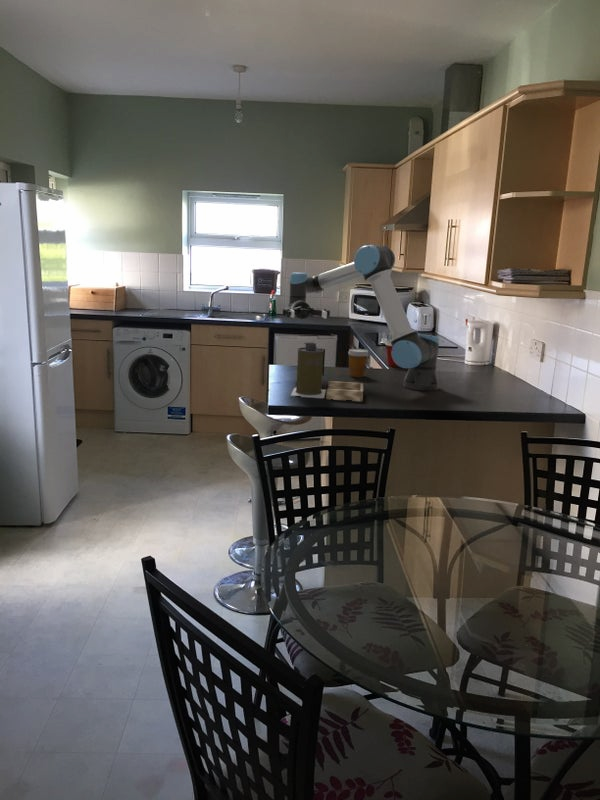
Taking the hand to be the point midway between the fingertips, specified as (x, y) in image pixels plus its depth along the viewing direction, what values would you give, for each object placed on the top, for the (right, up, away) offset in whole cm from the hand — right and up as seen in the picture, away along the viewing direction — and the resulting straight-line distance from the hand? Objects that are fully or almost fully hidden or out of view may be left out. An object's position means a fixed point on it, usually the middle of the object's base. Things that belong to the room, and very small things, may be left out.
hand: (309, 314), depth 269 cm
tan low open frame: (+13, -33, -8) cm, 37 cm away
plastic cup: (+44, -18, +66) cm, 81 cm away
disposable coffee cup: (+22, -24, +35) cm, 48 cm away
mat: (-1, -32, -7) cm, 33 cm away
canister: (0, -32, -7) cm, 33 cm away
